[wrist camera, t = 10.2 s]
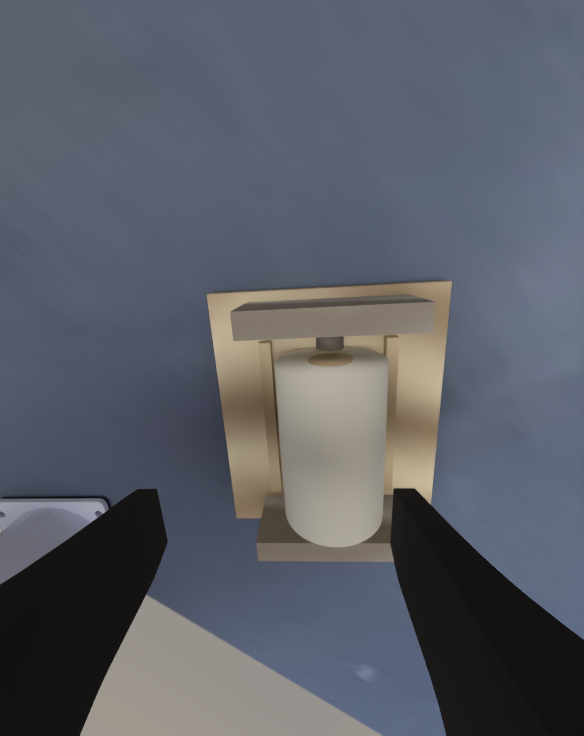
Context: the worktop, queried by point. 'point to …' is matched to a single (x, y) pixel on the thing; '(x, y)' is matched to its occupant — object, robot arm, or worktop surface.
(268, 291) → the roll holder
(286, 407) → the paper roll
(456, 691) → the robot arm
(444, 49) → the worktop surface
